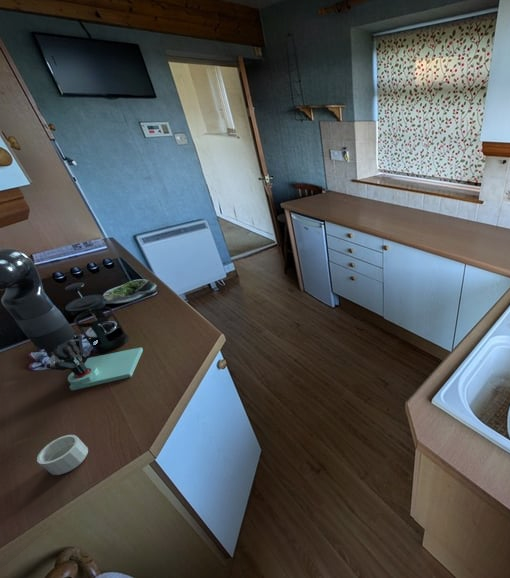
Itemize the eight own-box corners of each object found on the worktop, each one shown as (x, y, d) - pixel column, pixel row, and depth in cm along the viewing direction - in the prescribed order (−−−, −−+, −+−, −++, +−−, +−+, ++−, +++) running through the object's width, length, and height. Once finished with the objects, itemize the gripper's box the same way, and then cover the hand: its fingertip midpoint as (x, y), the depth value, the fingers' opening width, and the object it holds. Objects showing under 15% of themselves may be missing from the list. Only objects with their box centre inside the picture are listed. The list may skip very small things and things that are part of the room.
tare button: (75, 382, 83) (72, 378, 82) (80, 374, 85) (77, 370, 84) (89, 379, 84) (86, 375, 83) (93, 371, 86) (91, 367, 85)
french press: (128, 346, 97) (93, 288, 85) (91, 358, 92) (48, 298, 80) (128, 328, 105) (96, 272, 93) (94, 338, 100) (55, 281, 88)
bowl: (44, 480, 62) (29, 468, 60) (59, 452, 68) (47, 440, 65) (81, 469, 64) (69, 457, 62) (94, 443, 70) (83, 430, 67)
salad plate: (112, 313, 112) (106, 303, 110) (91, 300, 120) (85, 290, 117) (164, 290, 127) (160, 281, 124) (143, 280, 134) (139, 271, 132)
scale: (69, 391, 82) (63, 384, 80) (88, 361, 91) (83, 354, 90) (131, 377, 86) (126, 370, 85) (143, 350, 96) (139, 343, 94)
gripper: (41, 314, 79) (76, 360, 88) (9, 346, 68) (53, 394, 77) (76, 308, 81) (107, 354, 90) (50, 338, 70) (88, 386, 80)
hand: (82, 372), depth 84 cm, fingers closed
